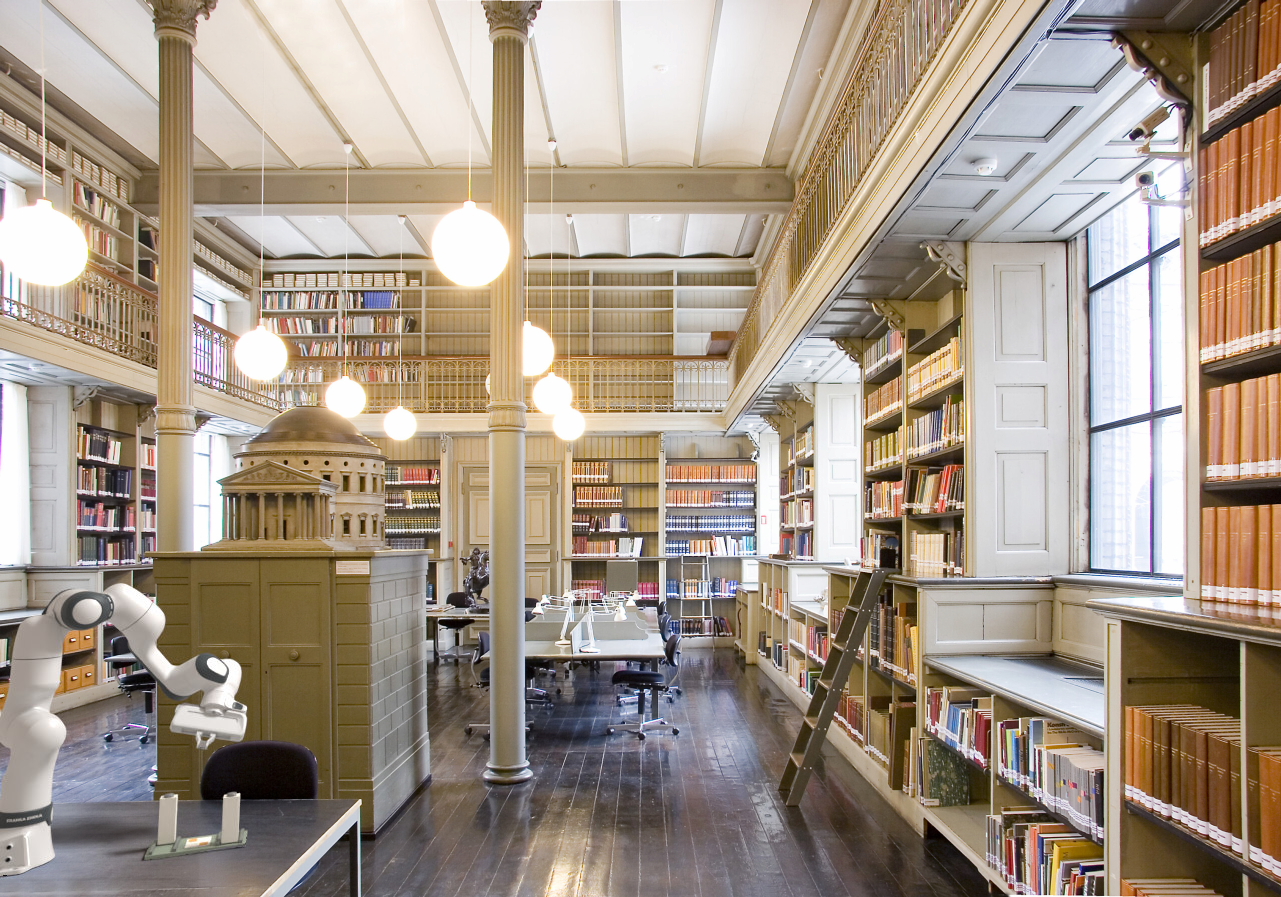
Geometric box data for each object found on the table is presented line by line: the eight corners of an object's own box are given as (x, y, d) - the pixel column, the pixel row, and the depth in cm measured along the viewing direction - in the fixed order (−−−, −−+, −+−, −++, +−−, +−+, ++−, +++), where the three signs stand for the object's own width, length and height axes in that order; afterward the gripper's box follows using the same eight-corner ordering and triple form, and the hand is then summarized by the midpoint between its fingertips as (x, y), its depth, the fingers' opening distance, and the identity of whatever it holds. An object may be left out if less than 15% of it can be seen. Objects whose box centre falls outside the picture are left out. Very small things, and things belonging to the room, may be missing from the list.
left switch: (159, 841, 230) (161, 793, 231) (175, 839, 231) (178, 792, 232) (157, 845, 227) (160, 796, 228) (174, 842, 228) (176, 795, 230)
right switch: (222, 840, 230) (224, 792, 232) (238, 838, 232) (240, 790, 233) (221, 843, 228) (223, 795, 229) (237, 841, 229) (239, 794, 230)
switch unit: (151, 846, 230) (151, 839, 230) (247, 833, 239) (247, 827, 239) (144, 860, 220) (144, 853, 220) (245, 847, 229) (245, 840, 229)
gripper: (179, 695, 248) (163, 735, 237) (252, 707, 255) (240, 746, 243) (176, 708, 251) (160, 748, 240) (248, 719, 258) (236, 759, 247)
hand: (201, 747), depth 242 cm, fingers closed
